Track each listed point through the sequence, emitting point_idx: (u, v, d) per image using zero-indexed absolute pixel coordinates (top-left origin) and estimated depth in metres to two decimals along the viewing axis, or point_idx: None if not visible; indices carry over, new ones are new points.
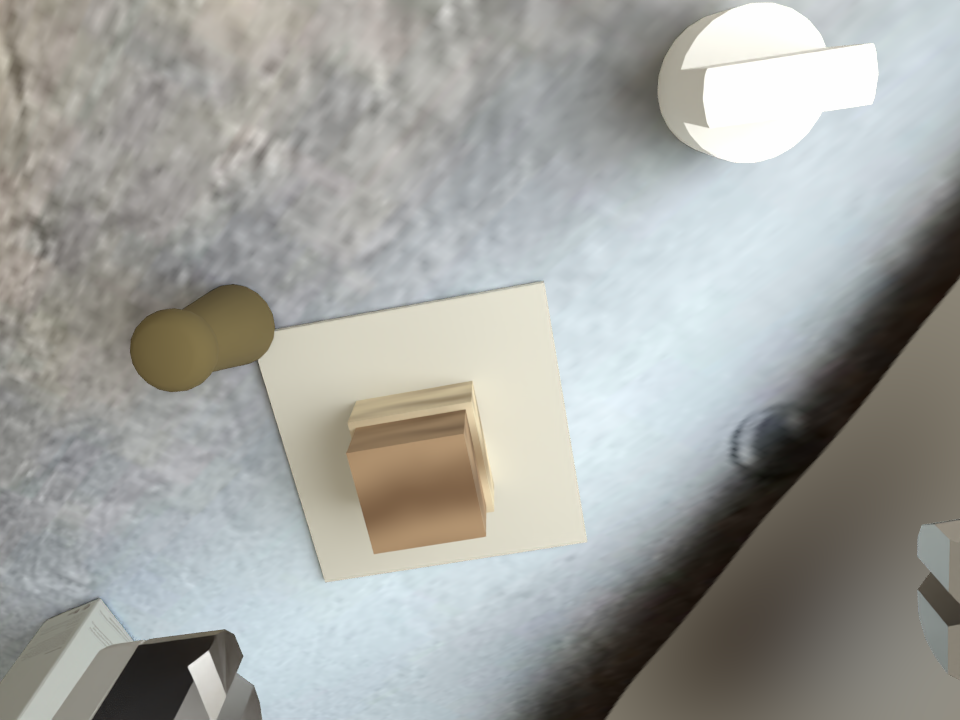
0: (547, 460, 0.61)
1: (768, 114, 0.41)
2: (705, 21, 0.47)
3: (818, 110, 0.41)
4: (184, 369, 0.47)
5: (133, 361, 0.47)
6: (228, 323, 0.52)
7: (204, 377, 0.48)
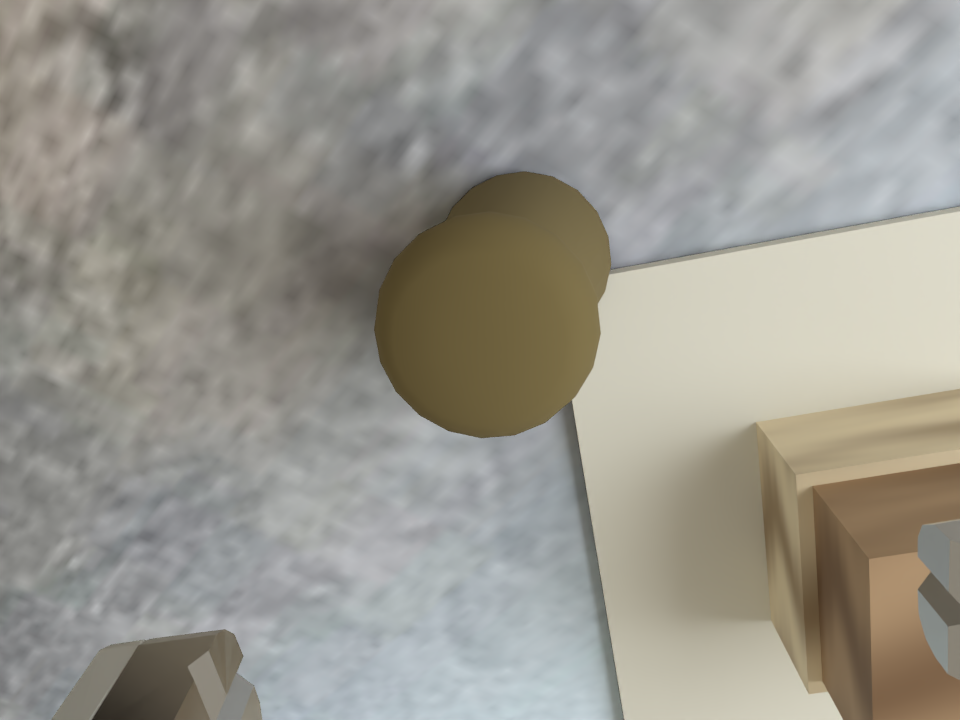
0: None
1: None
2: None
3: None
4: (539, 383, 0.17)
5: (389, 358, 0.17)
6: (577, 254, 0.21)
7: None
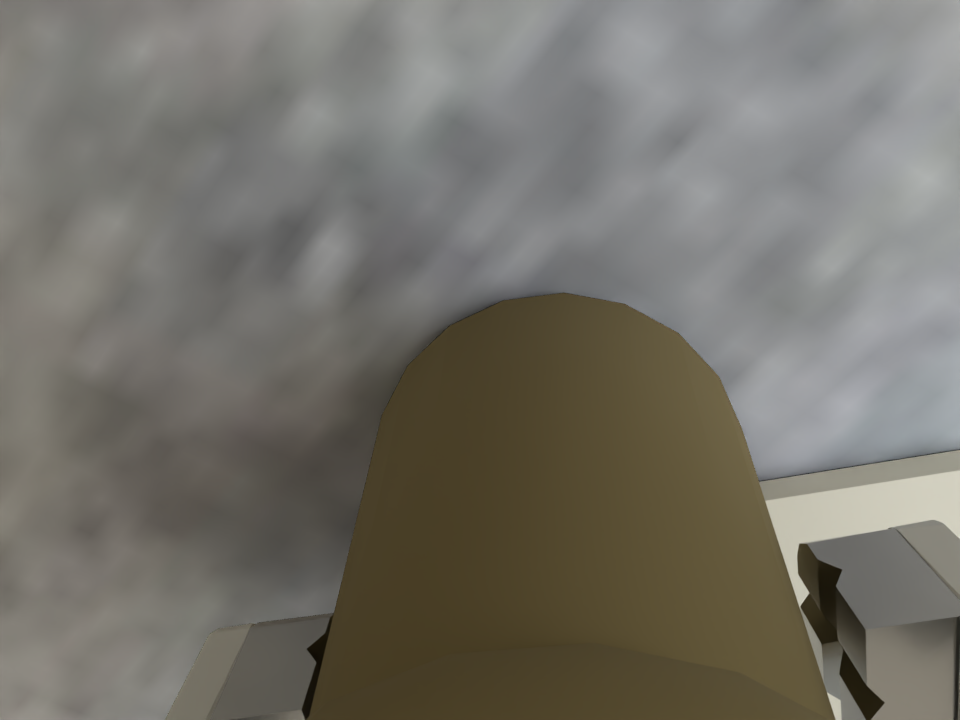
0: None
1: None
2: None
3: None
4: None
5: None
6: (793, 605, 0.07)
7: None
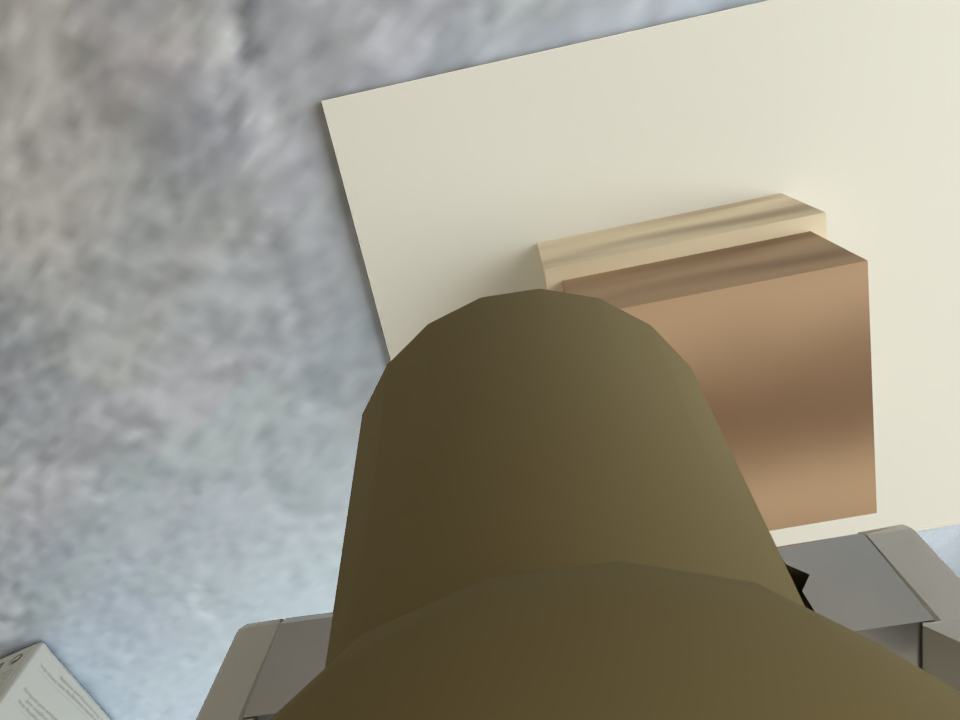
0: (911, 362, 0.30)
1: None
2: None
3: None
4: None
5: None
6: (782, 559, 0.07)
7: None
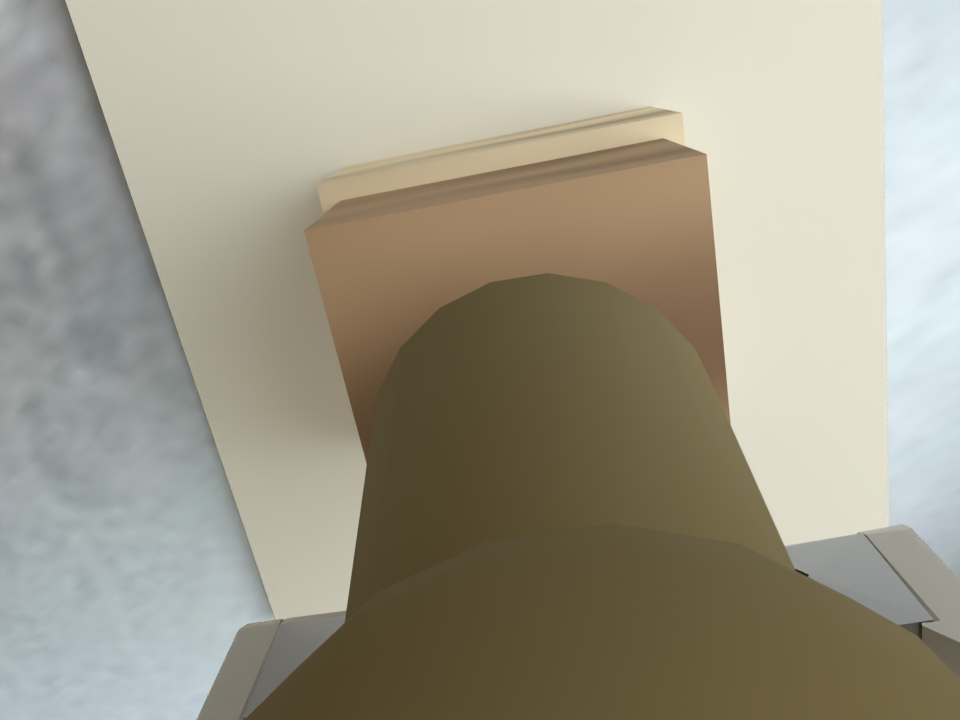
0: (820, 328, 0.24)
1: None
2: None
3: None
4: None
5: None
6: (776, 530, 0.07)
7: None
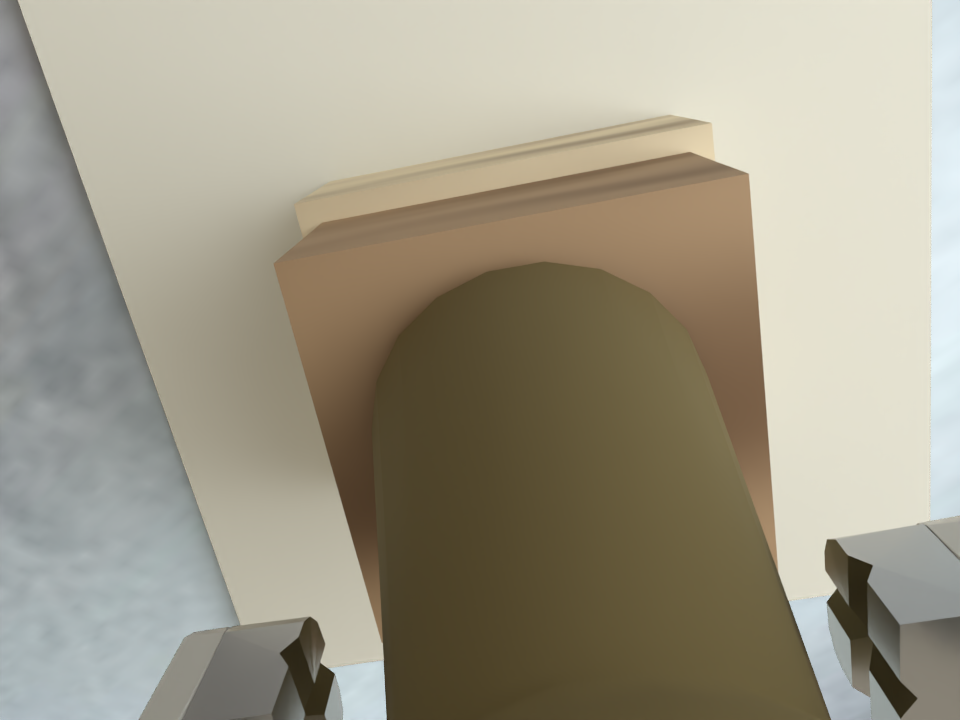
0: (857, 359, 0.22)
1: None
2: None
3: None
4: None
5: None
6: (775, 576, 0.08)
7: None
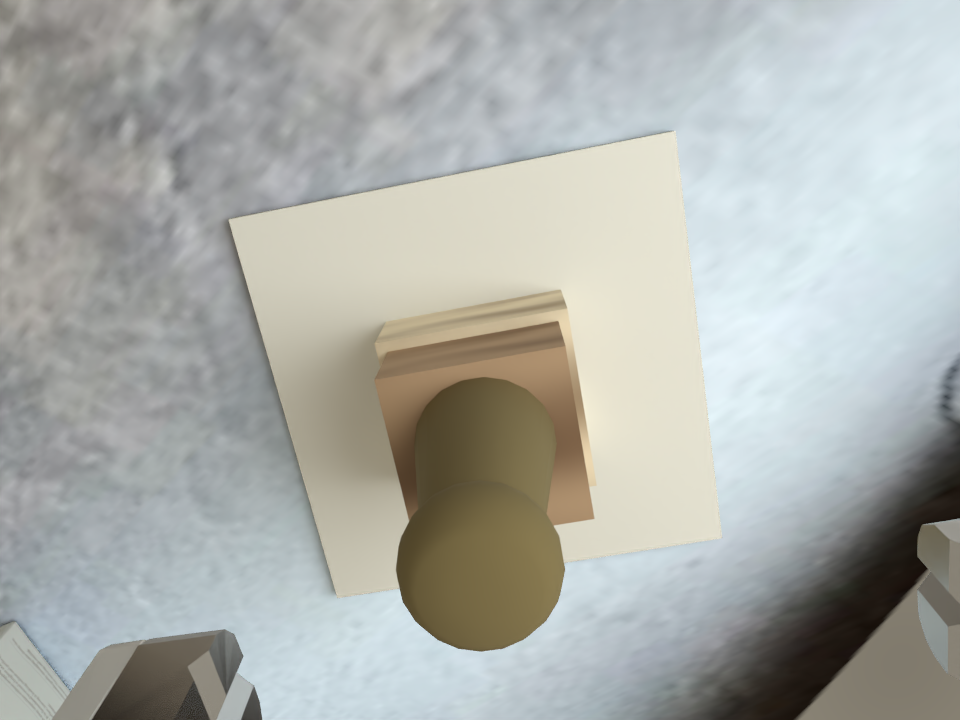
0: (668, 413, 0.41)
1: None
2: None
3: None
4: (525, 618, 0.23)
5: (412, 605, 0.23)
6: (537, 478, 0.27)
7: None
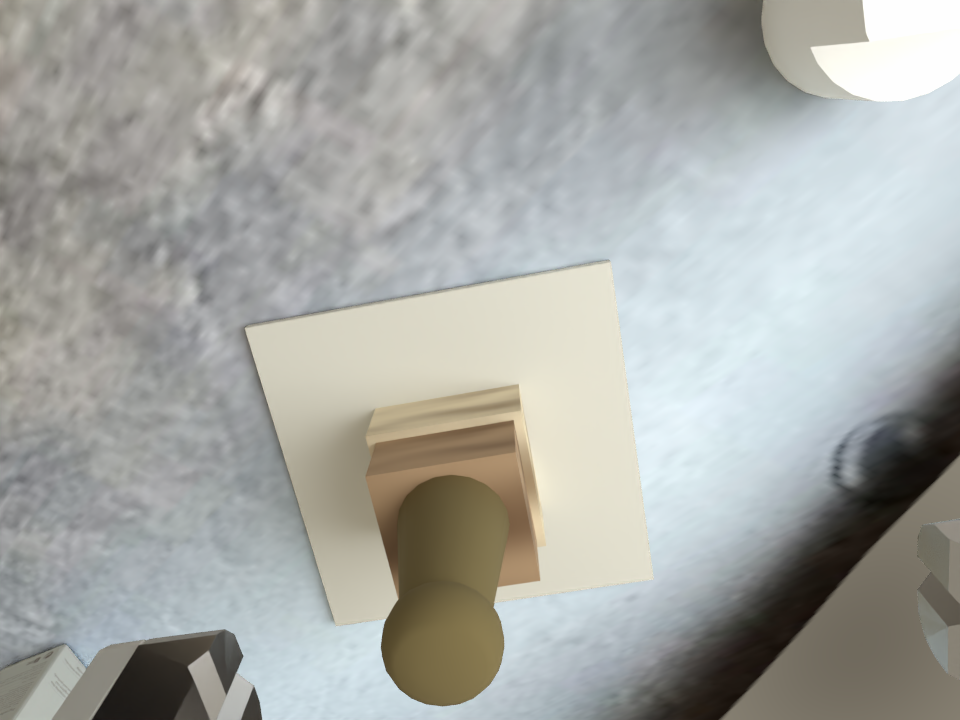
0: (608, 481, 0.50)
1: (952, 21, 0.30)
2: None
3: None
4: (473, 684, 0.32)
5: (393, 675, 0.32)
6: (488, 568, 0.36)
7: None
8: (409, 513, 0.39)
